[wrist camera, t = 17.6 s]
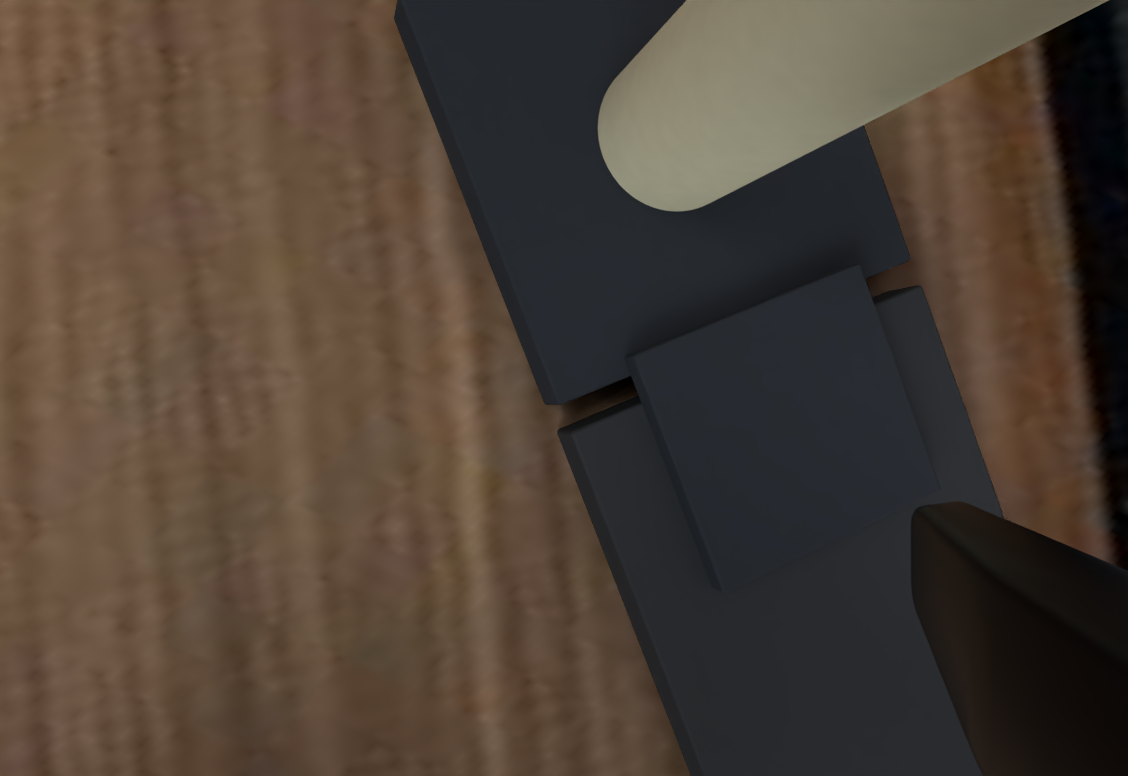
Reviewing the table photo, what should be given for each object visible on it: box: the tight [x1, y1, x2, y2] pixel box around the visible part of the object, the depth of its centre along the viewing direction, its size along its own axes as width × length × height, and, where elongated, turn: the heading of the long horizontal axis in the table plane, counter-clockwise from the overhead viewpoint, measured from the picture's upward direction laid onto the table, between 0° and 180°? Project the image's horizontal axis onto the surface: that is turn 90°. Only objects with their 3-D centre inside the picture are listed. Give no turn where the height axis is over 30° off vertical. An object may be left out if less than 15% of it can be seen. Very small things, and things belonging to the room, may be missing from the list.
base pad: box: [558, 286, 1004, 776], centre depth 20 cm, size 10×8×1 cm
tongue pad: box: [394, 0, 1108, 593], centre depth 14 cm, size 12×8×13 cm, turn 22°
